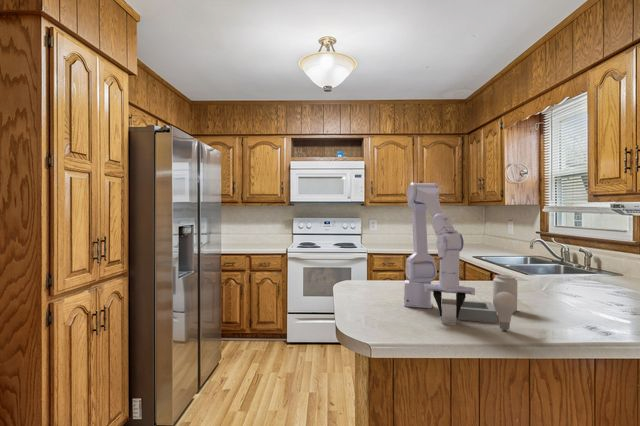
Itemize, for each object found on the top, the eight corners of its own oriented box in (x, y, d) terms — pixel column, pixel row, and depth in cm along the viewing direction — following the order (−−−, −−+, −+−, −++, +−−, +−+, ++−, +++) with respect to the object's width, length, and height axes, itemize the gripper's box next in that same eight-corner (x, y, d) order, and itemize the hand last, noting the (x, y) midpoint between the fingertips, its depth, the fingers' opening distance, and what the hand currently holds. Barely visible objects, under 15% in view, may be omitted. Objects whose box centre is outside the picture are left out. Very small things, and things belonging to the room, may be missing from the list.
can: (520, 314, 122) (520, 278, 122) (496, 312, 123) (496, 277, 123) (513, 308, 129) (513, 274, 129) (490, 306, 131) (490, 273, 131)
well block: (454, 319, 115) (455, 307, 115) (453, 309, 127) (453, 299, 127) (496, 322, 112) (496, 311, 111) (491, 312, 123) (491, 302, 123)
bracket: (441, 323, 110) (442, 300, 110) (441, 319, 115) (441, 297, 115) (456, 325, 109) (456, 301, 109) (455, 320, 114) (455, 298, 114)
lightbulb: (515, 335, 100) (516, 295, 100) (491, 331, 104) (491, 292, 104) (517, 329, 105) (517, 291, 105) (494, 325, 109) (494, 288, 109)
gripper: (424, 272, 110) (423, 317, 110) (476, 275, 106) (475, 322, 106) (424, 269, 117) (424, 311, 117) (473, 272, 113) (473, 316, 113)
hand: (448, 316), depth 112 cm, fingers closed on bracket, 4 cm apart
